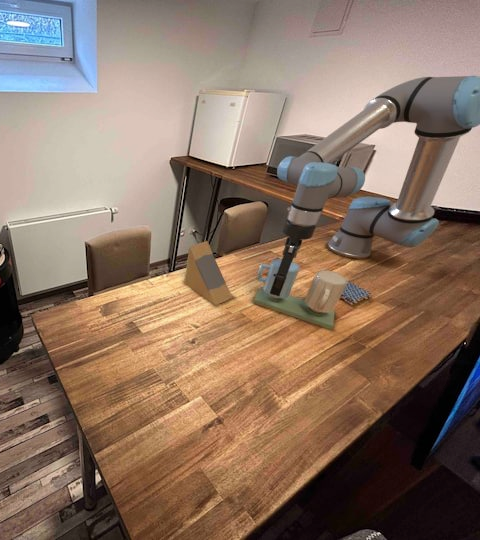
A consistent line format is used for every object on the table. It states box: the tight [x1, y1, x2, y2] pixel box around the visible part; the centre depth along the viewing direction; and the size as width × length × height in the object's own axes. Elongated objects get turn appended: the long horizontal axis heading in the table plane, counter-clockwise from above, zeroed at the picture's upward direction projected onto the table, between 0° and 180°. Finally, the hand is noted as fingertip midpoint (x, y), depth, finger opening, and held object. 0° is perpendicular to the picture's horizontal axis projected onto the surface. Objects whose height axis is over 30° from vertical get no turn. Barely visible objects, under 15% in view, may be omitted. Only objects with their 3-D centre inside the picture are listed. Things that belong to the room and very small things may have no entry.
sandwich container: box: [184, 240, 233, 306], centre depth 97 cm, size 9×15×15 cm, turn 31°
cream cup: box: [303, 269, 348, 313], centre depth 84 cm, size 8×10×10 cm
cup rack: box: [253, 286, 336, 331], centre depth 90 cm, size 9×22×14 cm, turn 56°
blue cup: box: [256, 257, 301, 298], centre depth 92 cm, size 8×10×10 cm
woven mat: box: [339, 280, 372, 306], centre depth 99 cm, size 10×11×2 cm
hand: (278, 283), depth 92 cm, fingers open, 13 cm apart
